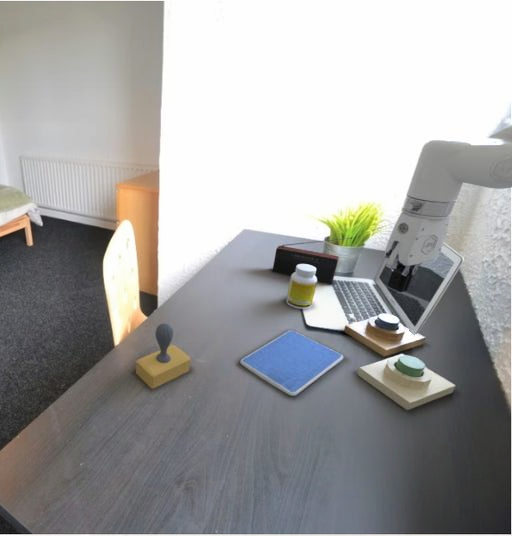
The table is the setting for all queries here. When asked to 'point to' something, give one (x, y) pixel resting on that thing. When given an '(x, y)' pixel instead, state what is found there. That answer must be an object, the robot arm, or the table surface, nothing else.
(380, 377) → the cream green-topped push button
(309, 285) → the pill bottle
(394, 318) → the blue button
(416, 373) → the green button
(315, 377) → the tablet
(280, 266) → the radio
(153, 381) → the rubber stamp
